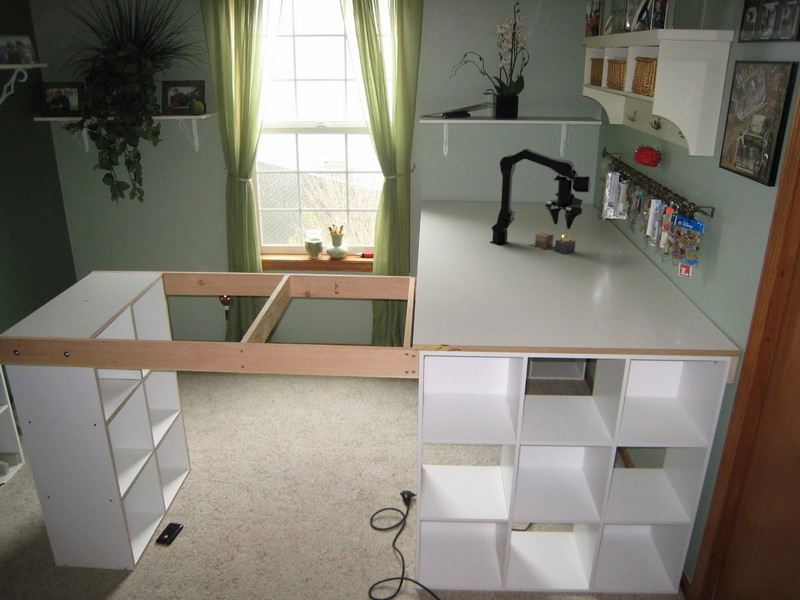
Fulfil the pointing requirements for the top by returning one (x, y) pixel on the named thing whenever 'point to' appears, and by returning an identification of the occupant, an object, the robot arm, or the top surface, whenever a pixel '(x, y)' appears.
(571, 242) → the press block
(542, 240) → the light brown cube-like block
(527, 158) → the robot arm
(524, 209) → the top surface
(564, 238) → the pin
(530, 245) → the plate
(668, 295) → the top surface
